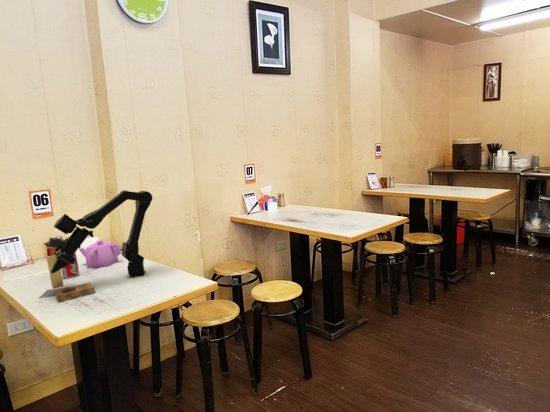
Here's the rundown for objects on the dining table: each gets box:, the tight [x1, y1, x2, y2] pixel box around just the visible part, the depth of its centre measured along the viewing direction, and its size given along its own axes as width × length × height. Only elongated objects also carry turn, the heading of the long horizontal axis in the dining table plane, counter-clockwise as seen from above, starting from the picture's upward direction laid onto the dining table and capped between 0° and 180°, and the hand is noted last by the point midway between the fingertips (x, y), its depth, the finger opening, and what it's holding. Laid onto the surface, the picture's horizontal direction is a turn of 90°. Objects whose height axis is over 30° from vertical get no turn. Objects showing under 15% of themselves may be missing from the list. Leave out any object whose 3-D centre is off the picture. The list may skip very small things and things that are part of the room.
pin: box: [46, 254, 65, 289], centre depth 173 cm, size 4×4×13 cm
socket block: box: [55, 281, 96, 303], centre depth 171 cm, size 14×8×3 cm, turn 124°
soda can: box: [61, 252, 80, 280], centre depth 198 cm, size 7×7×13 cm
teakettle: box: [78, 239, 122, 269], centre depth 217 cm, size 17×17×12 cm
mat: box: [38, 286, 70, 299], centre depth 177 cm, size 10×10×1 cm
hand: (51, 271), depth 173 cm, fingers closed on pin, 4 cm apart
